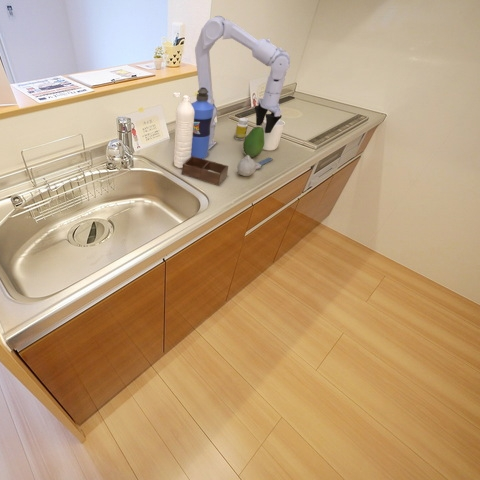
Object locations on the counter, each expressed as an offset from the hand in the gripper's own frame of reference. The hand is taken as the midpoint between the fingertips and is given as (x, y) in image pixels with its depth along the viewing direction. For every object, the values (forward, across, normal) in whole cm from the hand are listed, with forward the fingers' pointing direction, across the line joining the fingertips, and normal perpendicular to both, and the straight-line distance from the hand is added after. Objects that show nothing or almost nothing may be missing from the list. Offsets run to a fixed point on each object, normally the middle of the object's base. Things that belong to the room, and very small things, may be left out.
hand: (263, 128), depth 109 cm
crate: (+10, -14, +28) cm, 33 cm away
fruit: (+10, -3, +4) cm, 11 cm away
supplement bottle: (+10, +15, +1) cm, 18 cm away
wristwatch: (+10, -12, +6) cm, 17 cm away
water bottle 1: (+10, -3, +35) cm, 36 cm away
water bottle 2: (+10, +3, +26) cm, 28 cm away
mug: (+10, +5, -8) cm, 14 cm away
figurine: (+10, -17, +13) cm, 23 cm away
